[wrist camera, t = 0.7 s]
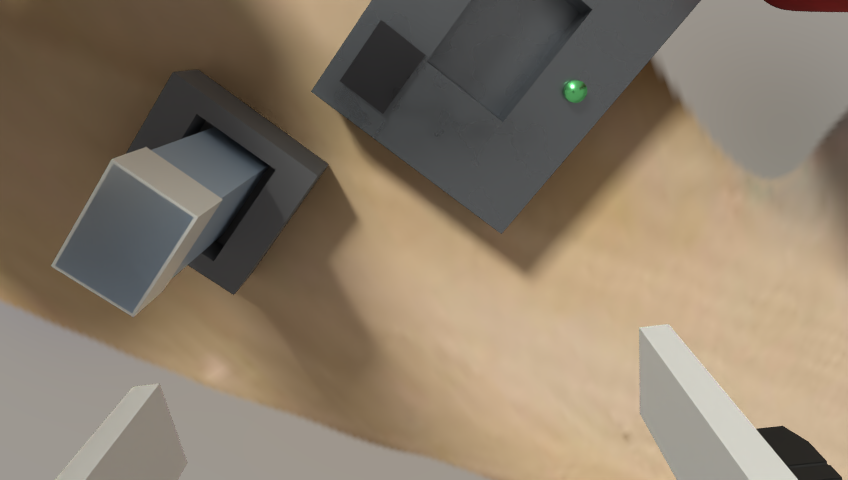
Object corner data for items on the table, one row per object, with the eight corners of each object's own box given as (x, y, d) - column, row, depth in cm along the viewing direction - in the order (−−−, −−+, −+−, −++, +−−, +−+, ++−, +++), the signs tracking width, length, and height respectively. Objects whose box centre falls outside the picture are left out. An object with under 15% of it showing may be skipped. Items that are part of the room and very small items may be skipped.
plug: (168, 199, 37) (50, 266, 26) (216, 122, 35) (111, 158, 24) (224, 236, 38) (133, 317, 27) (273, 163, 36) (198, 216, 25)
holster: (125, 191, 38) (96, 205, 35) (197, 69, 35) (173, 71, 32) (250, 274, 40) (233, 295, 37) (328, 164, 37) (317, 175, 34)
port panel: (324, 86, 36) (308, 92, 31) (506, -185, 31) (518, -223, 26) (495, 215, 38) (502, 237, 34) (689, -17, 33) (727, -26, 29)
